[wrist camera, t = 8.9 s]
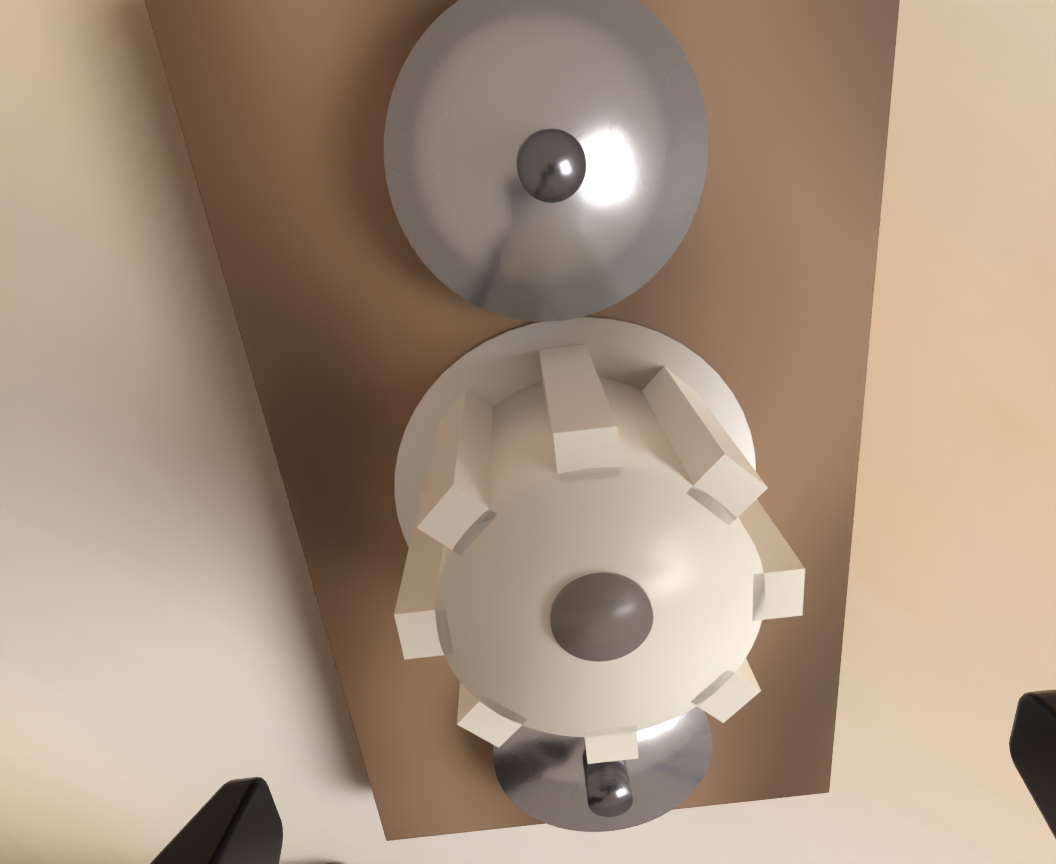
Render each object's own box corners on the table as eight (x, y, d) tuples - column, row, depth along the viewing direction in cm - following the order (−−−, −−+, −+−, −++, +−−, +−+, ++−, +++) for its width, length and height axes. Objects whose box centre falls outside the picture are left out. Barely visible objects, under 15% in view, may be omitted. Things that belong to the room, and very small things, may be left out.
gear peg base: (507, 806, 18) (508, 889, 16) (363, 5, 11) (333, -22, 9) (702, 785, 18) (727, 866, 16) (689, -35, 11) (732, -73, 9)
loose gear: (448, 630, 16) (431, 788, 12) (397, 366, 13) (354, 461, 10) (726, 599, 16) (797, 748, 12) (728, 328, 13) (819, 407, 9)
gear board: (394, 792, 20) (385, 844, 19) (178, -9, 12) (133, -28, 11) (806, 746, 20) (830, 795, 18) (863, -95, 12) (914, -127, 10)
